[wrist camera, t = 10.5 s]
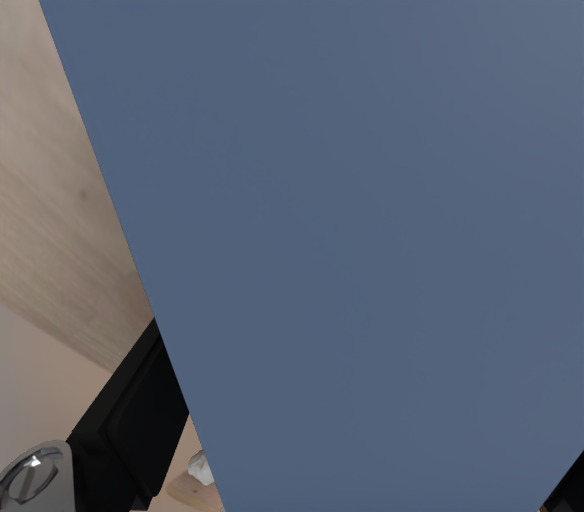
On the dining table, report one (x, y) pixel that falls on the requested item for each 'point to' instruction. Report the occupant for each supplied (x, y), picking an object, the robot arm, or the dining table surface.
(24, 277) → the dining table surface
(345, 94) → the door
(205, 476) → the white creature statuette
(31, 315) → the dining table surface
